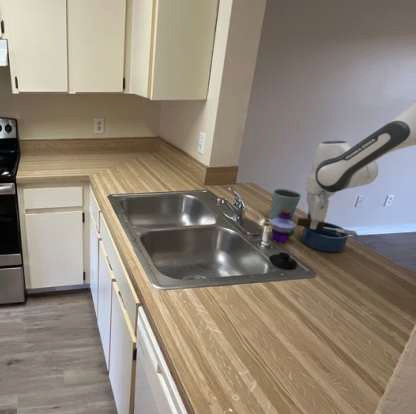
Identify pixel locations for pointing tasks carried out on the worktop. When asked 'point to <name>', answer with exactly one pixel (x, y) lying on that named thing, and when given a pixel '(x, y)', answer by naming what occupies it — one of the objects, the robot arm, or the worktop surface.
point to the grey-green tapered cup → (283, 202)
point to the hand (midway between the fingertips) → (311, 222)
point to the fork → (320, 225)
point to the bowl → (324, 238)
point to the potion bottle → (282, 226)
